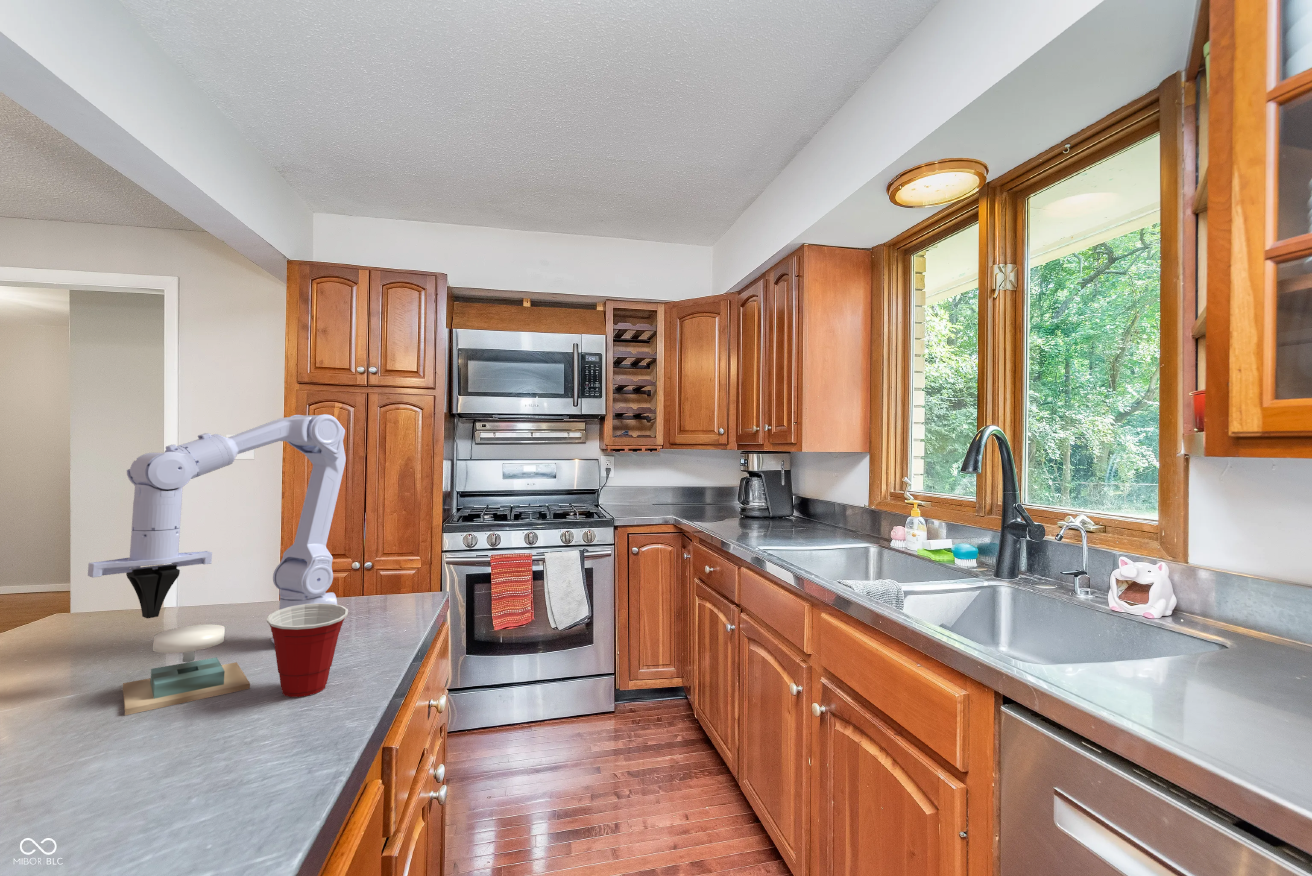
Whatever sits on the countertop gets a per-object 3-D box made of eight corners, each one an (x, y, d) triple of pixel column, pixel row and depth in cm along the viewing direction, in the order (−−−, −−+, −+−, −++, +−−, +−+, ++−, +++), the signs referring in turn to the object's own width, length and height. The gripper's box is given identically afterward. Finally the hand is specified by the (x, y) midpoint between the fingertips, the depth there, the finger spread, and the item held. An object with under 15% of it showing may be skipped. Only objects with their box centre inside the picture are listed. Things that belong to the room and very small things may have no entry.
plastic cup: (264, 712, 79) (269, 625, 79) (259, 686, 87) (264, 608, 88) (350, 694, 86) (355, 614, 86) (338, 672, 94) (342, 599, 95)
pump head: (218, 648, 92) (220, 621, 92) (227, 661, 86) (228, 633, 86) (150, 659, 86) (152, 631, 86) (153, 675, 80) (155, 644, 80)
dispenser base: (236, 667, 95) (237, 650, 95) (249, 688, 86) (250, 670, 87) (122, 688, 85) (123, 669, 85) (124, 715, 77) (126, 694, 77)
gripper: (200, 523, 96) (195, 603, 96) (83, 530, 84) (76, 622, 83) (219, 526, 93) (214, 609, 92) (100, 535, 80) (93, 631, 80)
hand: (150, 616), depth 87 cm, fingers closed
